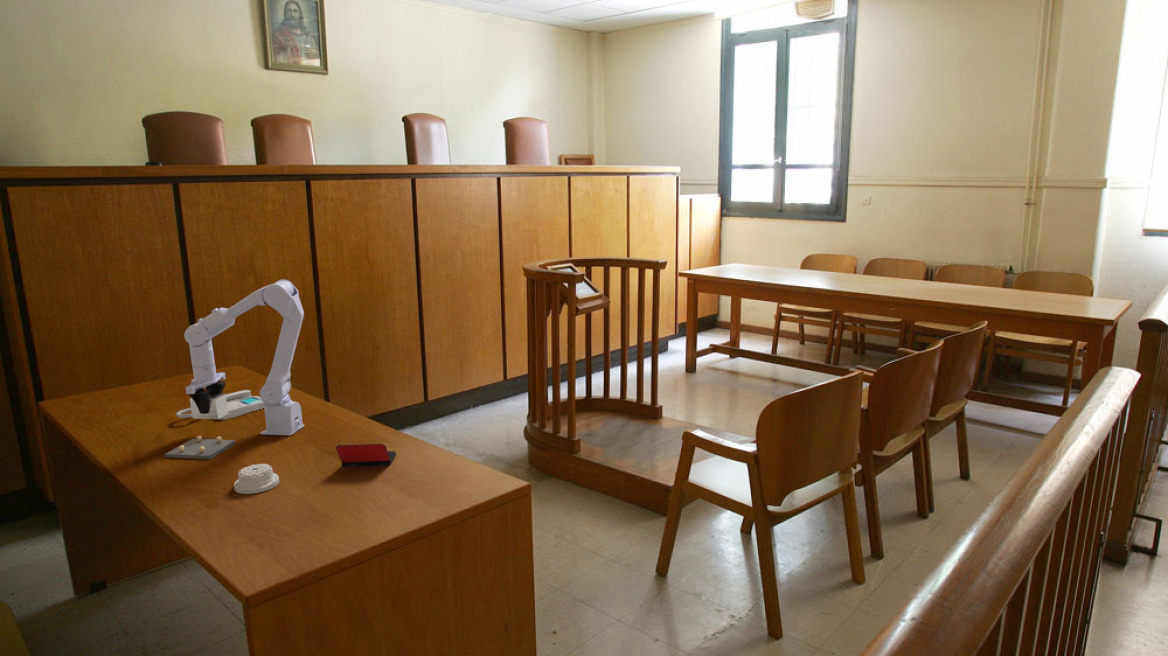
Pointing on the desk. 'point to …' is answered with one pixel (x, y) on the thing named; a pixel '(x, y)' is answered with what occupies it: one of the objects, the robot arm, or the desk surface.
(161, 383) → the desk surface
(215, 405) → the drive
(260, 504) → the desk surface
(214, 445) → the tray
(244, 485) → the mechanical component
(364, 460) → the handheld game console
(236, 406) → the intercom
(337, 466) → the desk surface
